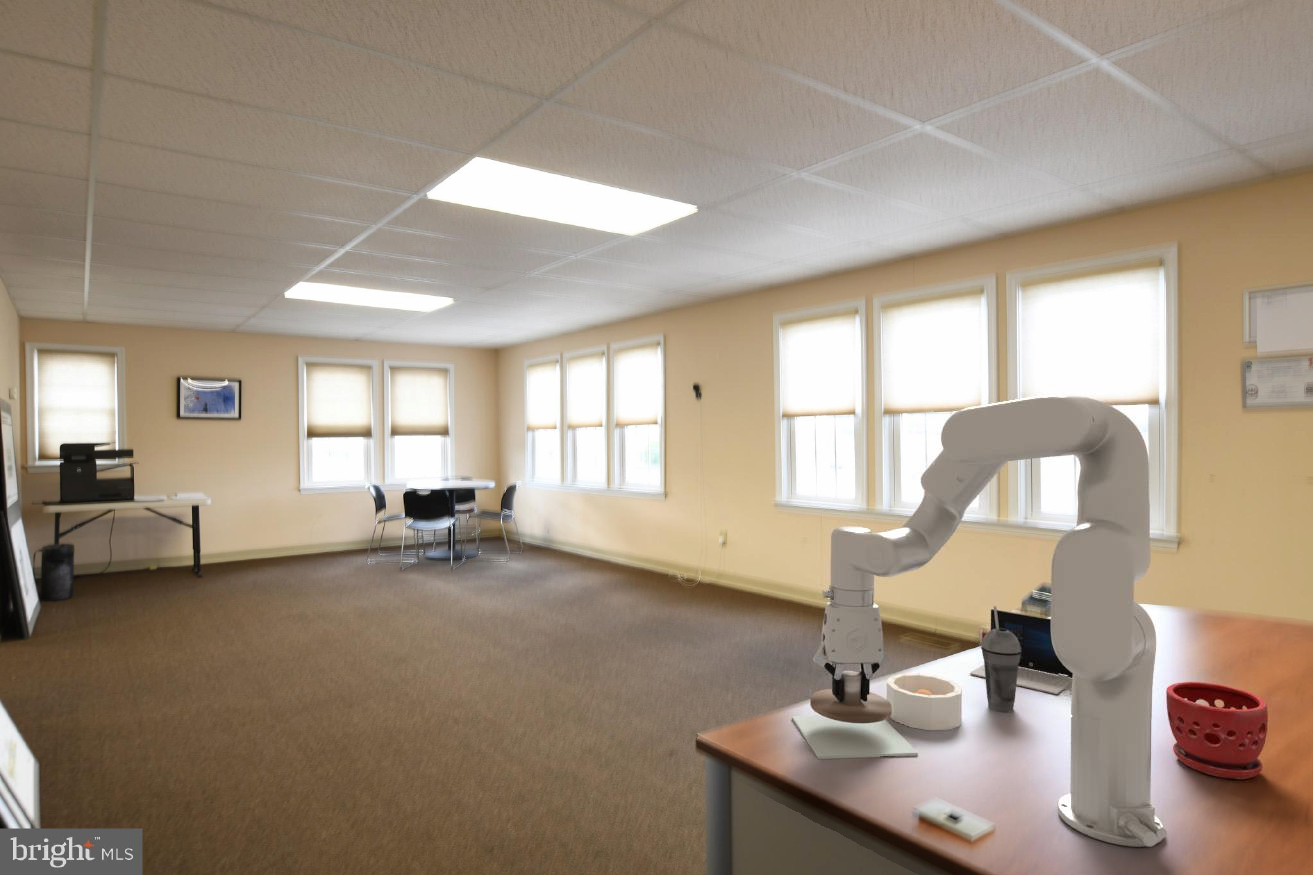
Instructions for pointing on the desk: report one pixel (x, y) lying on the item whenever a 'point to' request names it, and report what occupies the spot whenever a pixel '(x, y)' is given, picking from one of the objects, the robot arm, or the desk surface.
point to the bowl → (925, 701)
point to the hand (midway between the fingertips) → (850, 697)
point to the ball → (923, 692)
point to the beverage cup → (1001, 667)
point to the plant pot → (1217, 728)
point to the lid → (851, 703)
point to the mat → (851, 738)
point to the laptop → (1033, 653)
